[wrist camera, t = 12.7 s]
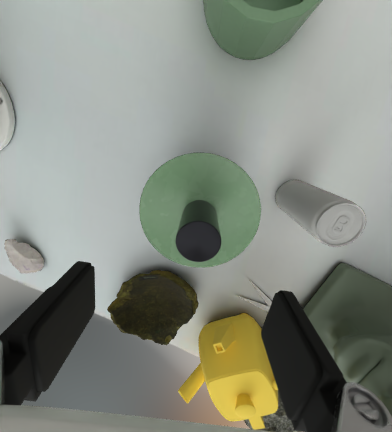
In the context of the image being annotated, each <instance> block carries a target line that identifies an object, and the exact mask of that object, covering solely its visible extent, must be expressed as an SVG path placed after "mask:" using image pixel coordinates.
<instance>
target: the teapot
mask: <svg viewBox="0 0 392 432" xmlns="http://www.w3.org/2000/svg"><path fill="white" fill-rule="evenodd" d="M261 330H262V329H261V327H260V326H259V325H258V323H257V322H256V321H255V320H254V319H253V318H252V317H251V316H249V315H248V314H246V313H241V314H239V315H236V316H232V317H228V318H224V319H221V320H218V321H215V322H210V323H208V324H207V325H205V326H204V327H203V328H202V330H201V332H200V335H199V354H200V360H201V363H200V364H199V365H198V367H197V368H196V369H195V370H194V372H193V373H192V374H191V375H190V377H189V378H188V379H187V380H186V381H185V383H184V384H183V385H182V386H181V387H180V389H179V390H178V392H179V393H180V395H181V396H182V397H183V399H184V400H185V401H186V402H187V403H189V401H190V400H191V399H192V397H193V396H194V395H195V393H196V392H197V391H198V389H199V388H200V387H201V385H202V384H203V383H204V382H206V385H207V388H208V391H209V394H210V397H211V399H212V401H213V403H214V405H215V406H216V408H217V409H218V410H219V412H220V413H221V414H222V415H223V416H224V418H226V419H227V420H229V421H240V420H246V419H249V421H250V424H251V426H252V428H253V429H254V430H256V429H262V428H265V425H264V420H263V416H265V415H269V414H273V413H275V412H276V411H277V409H278V388H277V384H276V381H275V378H274V375H273V372H272V369H271V366H270V362H269V359H268V356H267V353H266V350H265V347H264V344H263V340H262V337H261Z"/></svg>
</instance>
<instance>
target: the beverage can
mask: <svg viewBox="0 0 392 432" xmlns="http://www.w3.org/2000/svg"><path fill="white" fill-rule="evenodd" d="M275 199H276V203H277V205H278V206H279V207H280V208H281V209H282V210H283V211H284V212H285V213H287V214H288V215H289V216H290V217H291V218H292V219H293V220H295V221H296V222H297V223H298V224H299V225H300V226H302V227H303V228H304V229H305V230H306V231H307V232H309V233H310V234H311V235H312V236H313V237H314V238H316V239H317V240H318V241H320V242H322V243H324V244H326V245H328V246H333V247H340V246H344V245H347V244H349V243H351V242H353V241H354V240H356V239H357V238H358V237H359V236H360V235H361V234H362V232H363V230H364V228H365V225H366V215H365V213H364V211H363V210H362V209H361V208H360V207H359V206H357V205H356V204H355V203H353V202H352V201H350V200H347V199H345V198H342V197H340V196H337V195H335V194H332V193H330V192H327V191H325V190H322V189H320V188H317V187H315V186H312V185H310V184H307V183H305V182H302V181H300V180H291V181H288V182H286V183H284V184H283V185H282V186H280V188H279V189H278V190H277V193H276V198H275Z"/></svg>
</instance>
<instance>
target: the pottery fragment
mask: <svg viewBox="0 0 392 432" xmlns="http://www.w3.org/2000/svg"><path fill="white" fill-rule="evenodd" d="M197 307H198V302H197V294H196V292H195V291H194V289H193V288H192V287H191V285H189V284H188V283H187V282H186V281H185V280H183V279H182V278H180V277H178V276H177V275H175V274H173V273H171V272H170V271H161V270H154V271H153V270H152V271H151V272H150V273H149V274H139V275H136V276H135V277H133V278H131V279H130V280H128V281H126V282H124V283H123V284H122V286H121V289H120V291H119V292H118V294H117V299H115V301H113V302H112V303H111V305H110V306H109V307H108V309H107V310H108V312H110V313H111V319H112V320H113V322H114V324H116V325H117V327H118V328H119V330H120V331H121V332H123V333H128V334H133V335H137V336H138V337H141V339H143V340H145V339H148V340H153V341H154V342H155V343H159V344H161V345H163V344H164V345H167V344H169V342H170V341H171V339H174V336H176V334H177V330H178V329H179V328H180V327H181V326H182V325H183V324H186V323H188V321H189V320H190V319H191V318H192V317H193V315H194V314H195V312H196V309H197Z"/></svg>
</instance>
